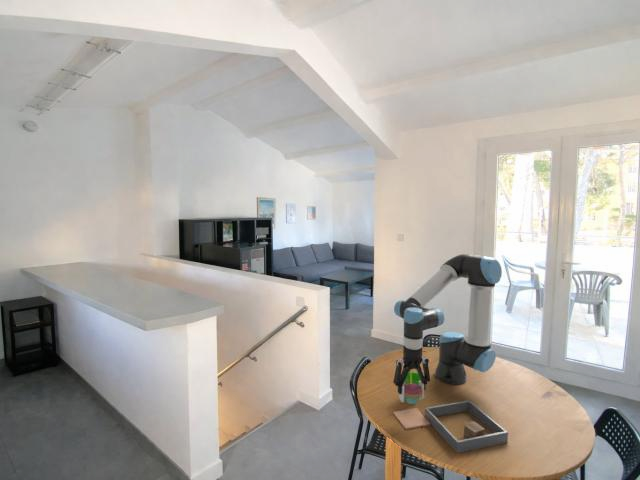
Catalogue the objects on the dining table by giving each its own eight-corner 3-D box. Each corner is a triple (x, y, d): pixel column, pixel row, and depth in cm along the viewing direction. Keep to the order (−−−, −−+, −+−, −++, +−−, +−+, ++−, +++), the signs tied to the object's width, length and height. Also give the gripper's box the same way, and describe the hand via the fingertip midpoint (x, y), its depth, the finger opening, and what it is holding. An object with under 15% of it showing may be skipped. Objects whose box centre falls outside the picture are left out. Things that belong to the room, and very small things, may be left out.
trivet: (416, 409, 149) (416, 408, 149) (430, 425, 138) (430, 423, 138) (393, 413, 146) (393, 411, 146) (405, 429, 135) (405, 428, 135)
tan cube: (473, 433, 133) (473, 421, 133) (484, 441, 128) (484, 428, 128) (463, 436, 131) (464, 424, 131) (474, 445, 126) (475, 432, 126)
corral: (468, 409, 149) (469, 400, 148) (507, 442, 128) (507, 432, 127) (424, 416, 143) (425, 407, 143) (457, 452, 123) (457, 442, 122)
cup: (423, 405, 151) (424, 382, 150) (402, 403, 153) (403, 380, 152) (422, 394, 160) (422, 372, 159) (402, 392, 162) (402, 370, 161)
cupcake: (398, 395, 145) (399, 368, 144) (417, 394, 146) (418, 367, 144) (405, 407, 136) (405, 379, 135) (425, 406, 137) (426, 378, 136)
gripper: (430, 340, 145) (429, 390, 147) (385, 345, 140) (384, 397, 142) (441, 347, 138) (439, 400, 140) (393, 352, 133) (392, 408, 135)
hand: (411, 399), depth 141 cm, fingers closed on cupcake, 8 cm apart
